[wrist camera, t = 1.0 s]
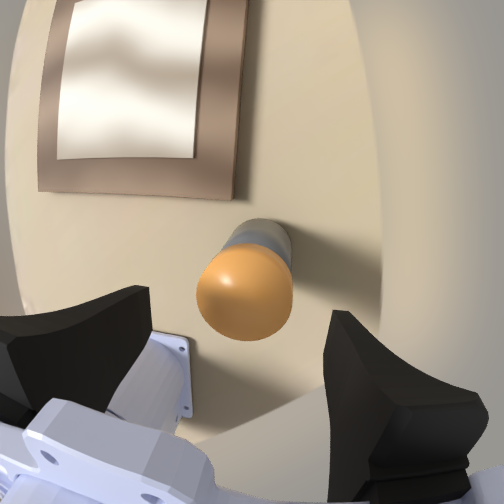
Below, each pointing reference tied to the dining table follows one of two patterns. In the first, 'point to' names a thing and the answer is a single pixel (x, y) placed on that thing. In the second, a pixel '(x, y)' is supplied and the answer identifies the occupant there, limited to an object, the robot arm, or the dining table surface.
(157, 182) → the board
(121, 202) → the dining table surface
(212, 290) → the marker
